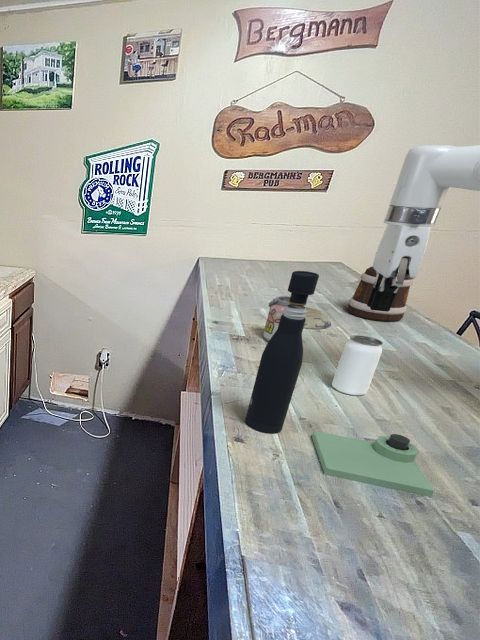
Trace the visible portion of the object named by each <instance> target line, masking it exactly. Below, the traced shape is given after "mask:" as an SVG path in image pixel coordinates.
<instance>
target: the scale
mask: <svg viewBox="0 0 480 640" xmlns="http://www.w3.org/2000/svg"><path fill="white" fill-rule="evenodd" d="M389 438H390V435H379V436H378V437H377V438H376V439H375V441H370V440H366V439H365V440H364V439H361V438H354V437H349V436H343V435H338V434H333V433H328V432H322V431H317V430H313V431H312V434H311V439H312V442H313V445H314V448H315V452H316V454H317V457H318V460H319V462H320V465H321V468H322V471H323V474H324V475H325V476H330V477H335V478H338V479H339V478H340V479H342V480H343V479H344V480H348V481H353V482H357V483H362V484H367V485H371V486H376V487H380V488H385V489H391V490H393V491H394V490H395V491H399V492H404V493H407V494H408V493H409V494H413V495H418V496H421V497H422V496H423V497H427V498H432V496H433V495H434V492H435V490H434V488H433V486H432V485H431V484H430V482H429V480H428V479H427V477H426V475H425V474H424V473H423V471H422V470H421V468H420V467H419V465H418V464H417V462H416V461H415V460H416V459H417V456H418V454H419V449H418V447H416V445H414V444H413V443H411V442H409V445H408V447H407V449H406V450H404V451H403V450H398V449H395V448H392V447H390V446H389V445H387V442H388V440H389Z"/></svg>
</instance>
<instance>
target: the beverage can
mask: <svg viewBox="0 0 480 640" xmlns="http://www.w3.org/2000/svg"><path fill="white" fill-rule="evenodd" d="M290 297H291V296H286V295H280V296H276V297H275V298H273V299H272V300H271V301H269V303H268V307H269V311H268V315H267V319H266V323H265V327H264V331H263V333H262V335H263V338H264V340H265V341H267V342H269V340H270V339H271V337H272V336H273V335H274V333H275V332H276V331H277V329H278V325H279V322H280V318H281V315H283V314H284V311H285V307H286V305H288V304H290V303H289V300H290Z"/></svg>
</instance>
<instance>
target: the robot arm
mask: <svg viewBox="0 0 480 640" xmlns="http://www.w3.org/2000/svg"><path fill="white" fill-rule="evenodd" d="M400 169H401V170H400V172H399V175H398V178H397V182H396V184H395V188H394V189H393V194H392V195H391V196H392V197H391V199H390V201H389V205H388V207H387V211H386V214H385V216H384V219H383V223H384V224H385V225H386V228H385V230H384V232H383V235H382V237H381V239H380V242H379V244H378V247H377V249H376V252H375V256H374V259H373V263H372V266H373V268H374V269H375V270H376V273H377V275H376V278H375V281H374V285H373V287H376V288H372V291H371V294H370V297H369V300H368V303H367V306H368V307H370V309H371V310H376V311H386V312H388V311H390V308H391V306H392V303H393V300H394V298H395V295H396V293H397V291H398V289H399V287H400V286H402V285H403V282H404V278H405V277H406V278H408V279H410V280H413V281H414V280H415V279H416V278H417V277H418V274H419V272H420V268H421V265H422V264H423V260H424V256H425V253H426V249H427V247H428V243H429V239H430V234H431V228H433V227H435V225H436V222H437V219H438V217H439V214H440V211H441V209H442V205H443V204H444V201H445V198H446V195H447V193H448V190H449V188H453V189H454V188H455V189H462V190H466V191H467V190H468V191H476V192H480V144H476V145H464V146H463V145H462V146H458V145H454V144H420V145H415V146H413V147H412V148H410V149H409V150H408V151H407V153H406V156H405V158H404V161H403V163H402V166H401V168H400Z"/></svg>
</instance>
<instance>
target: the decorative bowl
mask: <svg viewBox="0 0 480 640" xmlns="http://www.w3.org/2000/svg"><path fill="white" fill-rule="evenodd" d="M305 307H306V311H307V312H306V313H305V315H306V316H304V318H305V319H306V321H305V324H304V327H303V329H308V330H309V329H310V330H324V329H328V328H330V327H331V326H332V323H331V319H330V318H329V317H328V316H327V315H325V314H324V313H322V311H321V310H319V309H317V308H313V307H310V306H305Z"/></svg>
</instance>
